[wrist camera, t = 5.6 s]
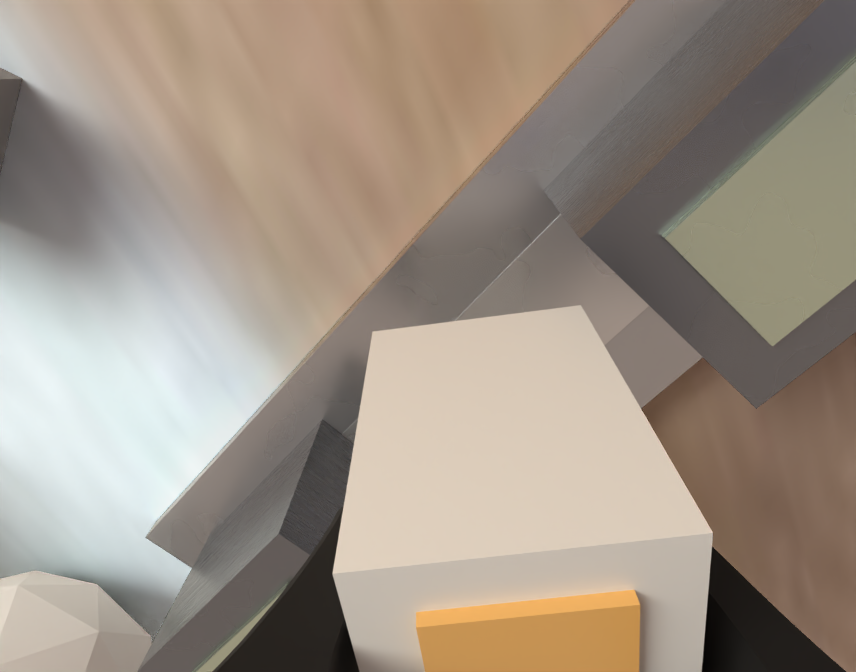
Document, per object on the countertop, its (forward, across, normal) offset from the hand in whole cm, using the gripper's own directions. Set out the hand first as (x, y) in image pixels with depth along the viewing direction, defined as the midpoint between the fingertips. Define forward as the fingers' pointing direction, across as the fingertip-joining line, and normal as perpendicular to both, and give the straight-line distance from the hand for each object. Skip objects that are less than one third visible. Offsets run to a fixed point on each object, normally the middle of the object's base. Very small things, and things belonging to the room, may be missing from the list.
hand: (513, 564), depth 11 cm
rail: (+8, 0, 0) cm, 8 cm away
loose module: (+3, 0, -1) cm, 3 cm away
